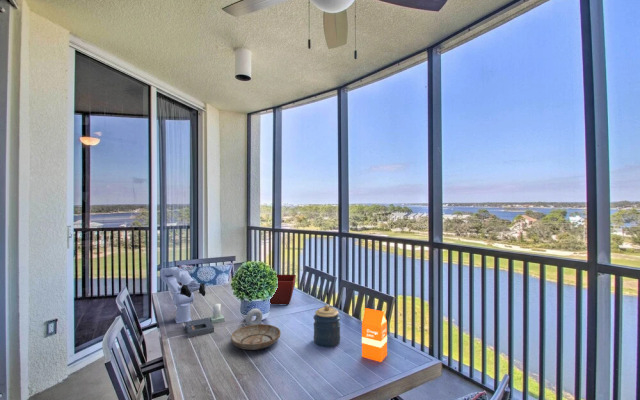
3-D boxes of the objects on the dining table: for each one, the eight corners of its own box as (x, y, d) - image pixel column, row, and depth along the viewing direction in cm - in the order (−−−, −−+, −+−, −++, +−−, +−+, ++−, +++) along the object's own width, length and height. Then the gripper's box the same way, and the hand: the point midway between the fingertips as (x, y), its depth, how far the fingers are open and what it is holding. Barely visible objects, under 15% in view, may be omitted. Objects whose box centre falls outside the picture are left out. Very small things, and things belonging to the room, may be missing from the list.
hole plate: (185, 326, 163) (185, 321, 163) (208, 322, 169) (208, 317, 169) (189, 337, 149) (189, 332, 149) (214, 332, 155) (214, 327, 155)
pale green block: (209, 319, 172) (209, 316, 172) (221, 317, 176) (221, 314, 176) (211, 323, 166) (211, 320, 166) (224, 321, 170) (224, 317, 170)
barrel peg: (212, 316, 172) (212, 304, 172) (219, 315, 174) (219, 303, 174) (213, 318, 168) (213, 306, 169) (221, 317, 170) (221, 305, 171)
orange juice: (381, 362, 125) (380, 314, 125) (361, 356, 130) (361, 310, 130) (387, 354, 132) (387, 308, 132) (368, 349, 136) (368, 305, 137)
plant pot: (293, 307, 194) (293, 281, 195) (263, 307, 195) (264, 281, 195) (295, 298, 213) (295, 274, 214) (269, 298, 214) (269, 274, 214)
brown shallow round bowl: (288, 336, 150) (288, 326, 150) (265, 359, 128) (265, 347, 128) (248, 330, 158) (248, 321, 158) (220, 350, 135) (220, 339, 136)
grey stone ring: (247, 330, 157) (247, 311, 157) (244, 328, 159) (244, 310, 160) (263, 325, 164) (263, 307, 164) (260, 323, 166) (260, 305, 167)
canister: (309, 345, 140) (309, 307, 141) (319, 334, 152) (319, 299, 153) (335, 350, 136) (335, 311, 136) (343, 338, 148) (343, 302, 148)
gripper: (176, 277, 161) (185, 289, 152) (202, 275, 171) (212, 287, 162) (173, 289, 162) (182, 301, 152) (199, 287, 172) (209, 299, 162)
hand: (197, 295), depth 157 cm, fingers open, 7 cm apart
